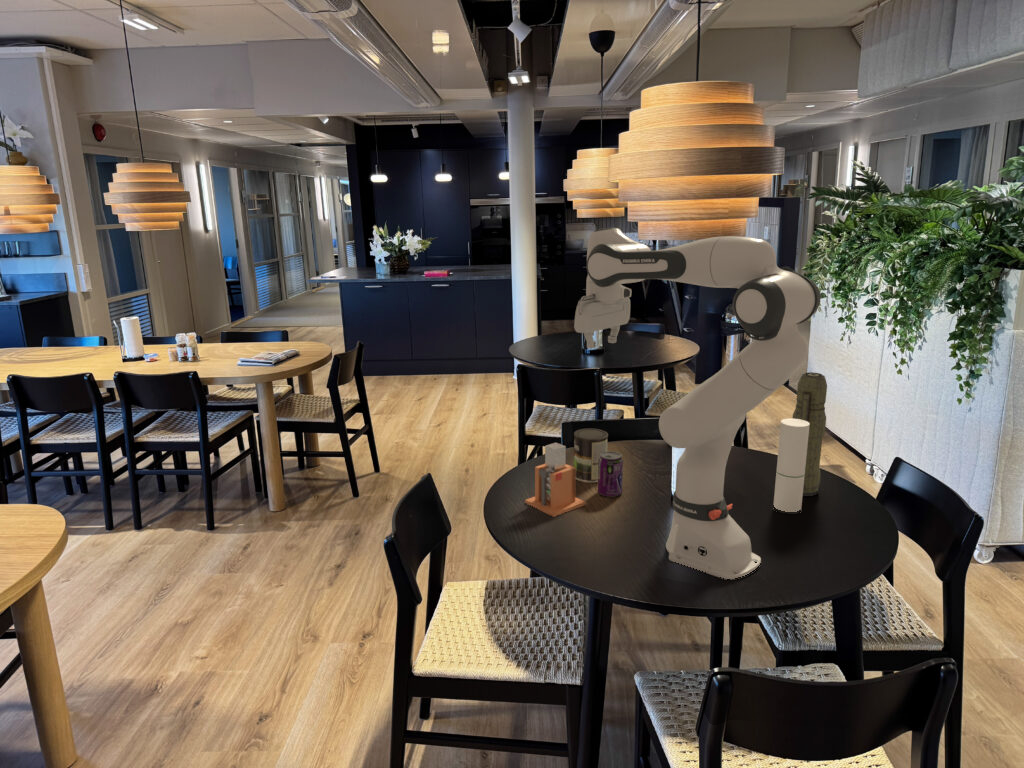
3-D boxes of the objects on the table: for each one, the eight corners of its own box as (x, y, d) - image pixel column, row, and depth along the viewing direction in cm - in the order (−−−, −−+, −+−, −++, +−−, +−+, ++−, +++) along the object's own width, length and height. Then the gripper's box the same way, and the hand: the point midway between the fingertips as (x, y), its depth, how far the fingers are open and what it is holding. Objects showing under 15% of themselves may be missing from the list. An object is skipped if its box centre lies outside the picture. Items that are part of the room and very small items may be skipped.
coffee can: (574, 483, 215) (574, 438, 211) (572, 470, 225) (573, 428, 221) (608, 483, 214) (609, 439, 211) (605, 470, 224) (606, 428, 221)
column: (565, 500, 200) (565, 446, 196) (553, 504, 197) (553, 449, 193) (555, 495, 203) (555, 442, 199) (543, 499, 200) (543, 446, 196)
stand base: (585, 504, 199) (586, 467, 196) (553, 516, 192) (553, 478, 189) (556, 492, 208) (556, 456, 206) (525, 503, 201) (524, 465, 198)
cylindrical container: (801, 506, 197) (810, 420, 190) (800, 516, 190) (808, 427, 184) (774, 502, 200) (782, 417, 193) (772, 512, 193) (779, 424, 187)
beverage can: (614, 500, 202) (615, 461, 199) (593, 494, 206) (593, 455, 203) (626, 492, 207) (627, 453, 204) (605, 487, 212) (606, 449, 209)
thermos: (821, 486, 210) (833, 371, 201) (814, 501, 200) (827, 380, 191) (790, 481, 214) (800, 368, 206) (782, 494, 205) (792, 376, 196)
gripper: (589, 298, 173) (588, 353, 176) (635, 289, 187) (633, 341, 191) (568, 295, 177) (567, 350, 180) (615, 287, 191) (613, 338, 195)
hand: (601, 345), depth 186 cm, fingers open, 8 cm apart
